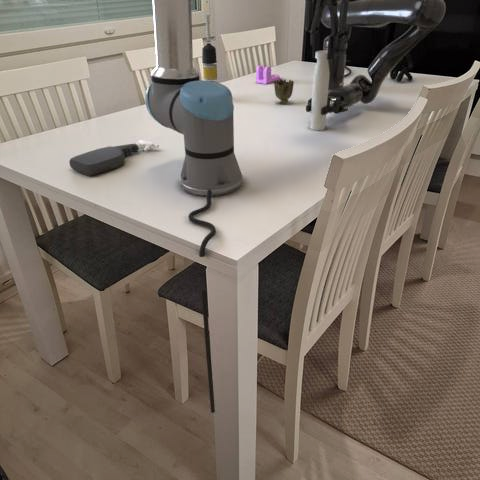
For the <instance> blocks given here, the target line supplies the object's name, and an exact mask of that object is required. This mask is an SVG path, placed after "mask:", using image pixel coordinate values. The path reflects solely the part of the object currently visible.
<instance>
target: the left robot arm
mask: <svg viewBox="0 0 480 480" xmlns="http://www.w3.org/2000/svg"><path fill="white" fill-rule="evenodd" d="M337 1H339V0H316V4H315V0H305V21H304V22H305V23H304V25H305V27H304V30H305V32H308V33H310V42H309V43H310V46H312V50H311V51H312V52H311V59H316V58H315V53H316V51H320V40H321V33H319V32H320V31H319V28H320V25H321V22H322V21H321V17H322V13H323V10H324V8H325V5H326V6H328V9H329V12H330V21H331V28H330V31H331V33H330V35H328V36H329V44H328V56H327V60H331V59H334V49H335V47H337V45H338V36H339V34H341V33H344V32H345V29H346V20H347V11H348V3H349V2H351V1H350V0H340V1H341V5H340V14H339V23H338V13H337V8H338V4H337ZM314 10H315V11H314ZM152 12H153V26H154V43H155V55H156V56H155V58H156V66H155V67H154V69H153V70H152V71H151V72H150V80H151V81H150V83H149V85H148V87H147V88H146V91H145V94H144V95H145V96H144V102H145V107H146V110H147V112H148V113H149V115H150V117H151V118H152V119H153V120H154V121H156V122H157V123H158V124H160V125H161V126H163V127H164V128H167V129H171V130H173V131H175V132H177V133H178V134H180V135H183V141H184V142H183V143H184V154H185V155H184V158H183V164H182V168H181V171H180V176H179V183H180V184H179V185H180V188H181V189H182V191H184V192H186V193H187V194H190V195H194V196H199V197H206V204H205V205H204V206H202V207H200V208H198V209H194V210H192V211H190V212H189V214H188V221H190V222H191V223H193V224H195V225H200V226H203V227H206V228H208V229H210V232H209V233H208V234H207V235H205V237H204V238H203V239H202V241H201V244H200V247H199V255H198V256H199V257H200V258H204V257H205V255H206V254H205V253H206V247H207V244H208V243H209V242H210V240H211V239H212V238H214V236H215V235H216V233H217V229H216V227H215V225H214V224H212V223H210V222H209V221H205V220H201V219H198V218H196V217H195V216H196V215H198V214H202V213H204V212H206V211H208V210H209V209H210V208H211V206H212V197H221V196H224V195H229V194H232V193H234V192H235V191H237V190H239V189H240V188H241V187H242V185H243V174H242V171H241V168H240V165H239V163H238V160H237V157H236V154H235V132H234V131H235V130H234V127H235V126H234V122H235V121H234V110H235V105H234V100H233V94H232V91H231V90H230V89H229V87H227V86H226V85H224V84H223V83H220V82H218V81H215V82H209V81H208V80H200V79H201V78H200V72H199V71H198V70H197V68H195V67H194V55H193V54H194V53H193V52H194V51H193V17H192V16H193V15H192V13H193V12H192V0H152ZM217 82H218V83H217ZM201 302H202V303H201V304H202V317H203V318H202V319H203V329H204V330H203V332H204V344H205V355H206V357H205V358H206V366H207V368H206V369H207V380H208V381H207V382H208V392H209V404H210V405H209V406H210V413H211V414H214V413H216V407H215V405H216V404H215V391H214V380H213V367H212V354H211V353H212V351H211V340H210V325H209V309H208V293H207V291H205V290H204V289H201Z"/></svg>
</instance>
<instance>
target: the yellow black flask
mask: <svg viewBox="0 0 480 480" xmlns="http://www.w3.org/2000/svg"><path fill="white" fill-rule="evenodd" d="M210 17H211V14H204V18H205V27H206V29H205V30H206V31H205V33H206V39H207V40H206V42H207V43H206V45H204V46H202V49H201V50H202V51H201V52H202V54H201V55H202V57H201V58H202V61H201V63H202V71H203V72H202V73H203V74H202V75H203V81H209V82H217V83H219V82H218V81H216V80H218V64H216V63H218V61H217V48H216V47H215V46H214V45H212V43H210V42H211V40H210V39H211V31H210V29H211V28H210Z"/></svg>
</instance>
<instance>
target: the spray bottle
mask: <svg viewBox="0 0 480 480" xmlns="http://www.w3.org/2000/svg"><path fill="white" fill-rule="evenodd" d="M159 148H160V145H159V144H158V143H155V142H151V141H148V140H144V139H139V140H138V141H137V142H135V143H129V144H128V143H126V144H122V145H113V146H105V147H100V148H97V149H94V150H90V151H87V152H83V153H81V154H78V155H74V156H73V157H70V159H69V161H68V162H69V167H70V168H71V169H72V170H74V171H75V172H78V173H81V174H83V175H85V176H89V177H90V176H91V177H92V176H95V175H99V174H102V173H105V172H107V171H110V170H113V169H116V168H118V167H120V166H122V165H123V164H124V163H125V158H126V156H127V155H131V154H133V153H138V151H140V150H143V151H144V152H146V151H147V150H149V149H159Z"/></svg>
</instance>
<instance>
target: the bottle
mask: <svg viewBox="0 0 480 480" xmlns="http://www.w3.org/2000/svg"><path fill="white" fill-rule="evenodd" d="M329 72H330V71H329V63H328V60H327V59H316V63H315V66H314V70H313V78H312V91H311V94H312V95H311V98H312V105H311V111H310V121H309V128H310V130H313V131H324V130H325V129H326V120H327V114H325V115H321V108H322V107H325V106H327V98H328V86H329V75H330V74H329Z"/></svg>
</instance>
